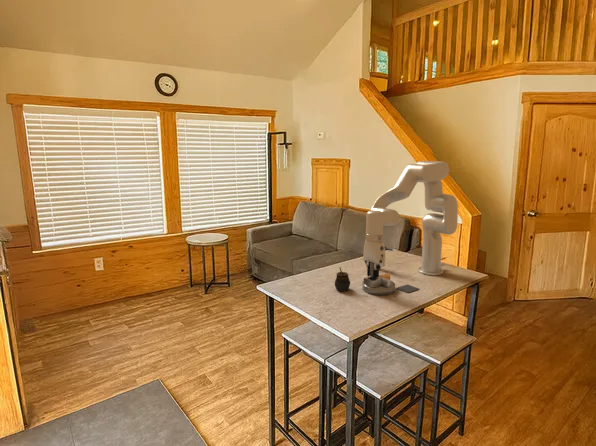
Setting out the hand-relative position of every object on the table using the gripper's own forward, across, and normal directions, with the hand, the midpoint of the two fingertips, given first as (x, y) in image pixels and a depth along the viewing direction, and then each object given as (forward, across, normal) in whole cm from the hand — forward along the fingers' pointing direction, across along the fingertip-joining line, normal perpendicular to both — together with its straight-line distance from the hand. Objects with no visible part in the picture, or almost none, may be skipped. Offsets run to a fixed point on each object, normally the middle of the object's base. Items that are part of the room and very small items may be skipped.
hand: (372, 276), depth 172 cm
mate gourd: (+8, +10, +10) cm, 16 cm away
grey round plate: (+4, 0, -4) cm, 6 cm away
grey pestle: (+3, 0, 0) cm, 3 cm away
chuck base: (+7, 0, -4) cm, 8 cm away
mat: (+7, -8, -16) cm, 19 cm away
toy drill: (+8, +20, -25) cm, 33 cm away
